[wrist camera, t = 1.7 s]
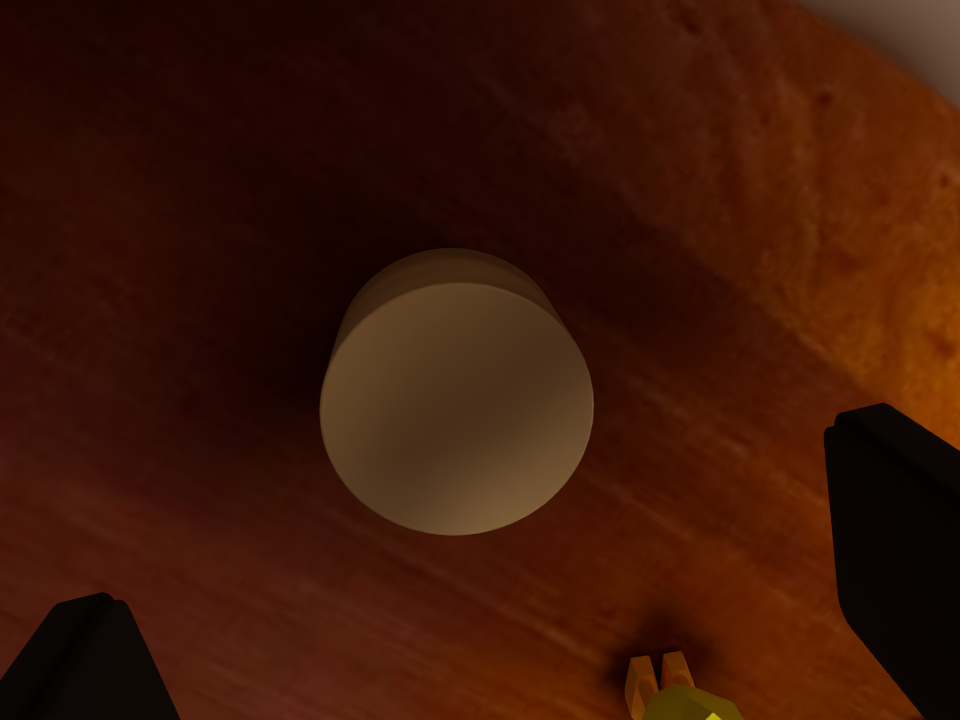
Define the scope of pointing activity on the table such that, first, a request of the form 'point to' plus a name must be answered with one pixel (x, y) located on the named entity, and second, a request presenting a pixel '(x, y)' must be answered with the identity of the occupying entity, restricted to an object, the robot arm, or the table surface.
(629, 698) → the toy figure
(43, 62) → the table surface
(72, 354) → the table surface
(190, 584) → the table surface
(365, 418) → the cylinder
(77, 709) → the robot arm
